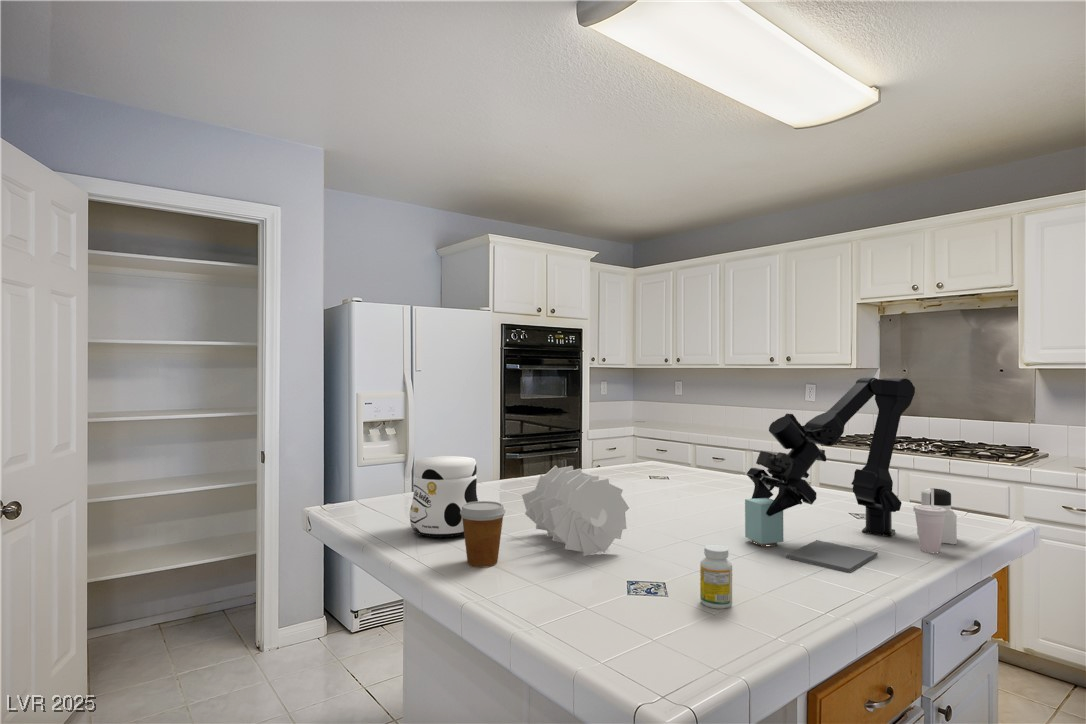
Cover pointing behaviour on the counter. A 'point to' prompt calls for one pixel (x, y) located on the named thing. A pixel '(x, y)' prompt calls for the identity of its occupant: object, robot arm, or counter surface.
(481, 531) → the disposable coffee cup
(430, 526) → the milk container
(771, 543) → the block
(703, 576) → the supplement bottle
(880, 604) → the counter surface
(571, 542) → the spiral staircase
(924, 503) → the medicine bottle
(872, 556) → the mat
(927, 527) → the smoothie
